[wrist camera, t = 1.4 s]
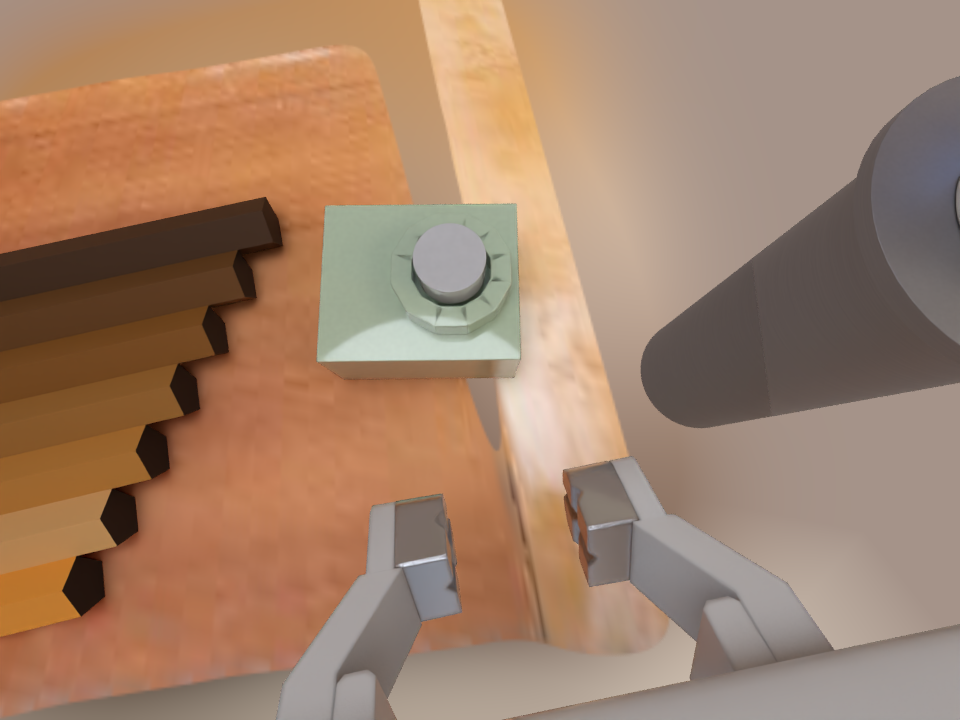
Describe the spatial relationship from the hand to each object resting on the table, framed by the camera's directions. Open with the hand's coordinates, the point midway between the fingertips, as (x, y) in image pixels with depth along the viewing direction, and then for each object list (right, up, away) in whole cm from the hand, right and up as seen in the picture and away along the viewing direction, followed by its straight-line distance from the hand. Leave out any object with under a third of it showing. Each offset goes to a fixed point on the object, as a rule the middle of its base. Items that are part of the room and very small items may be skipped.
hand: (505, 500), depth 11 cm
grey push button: (-2, +8, +19) cm, 21 cm away
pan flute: (-25, -1, +25) cm, 35 cm away
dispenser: (-4, +7, +26) cm, 27 cm away
